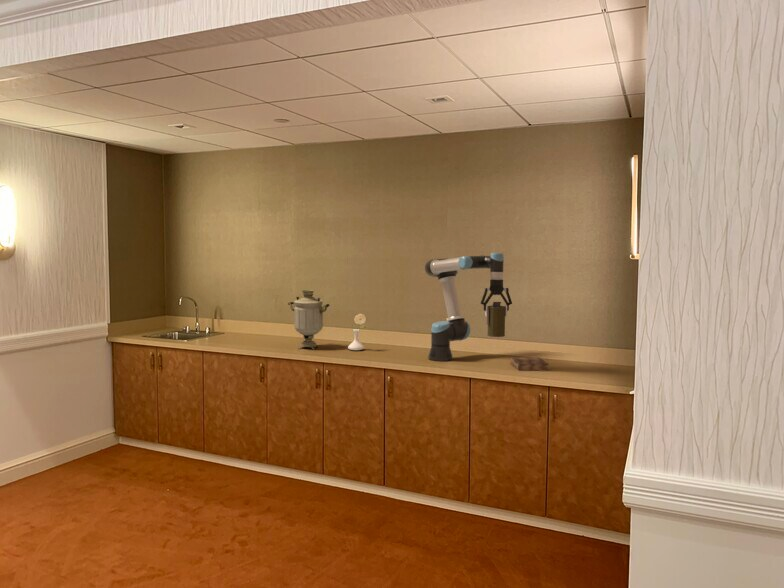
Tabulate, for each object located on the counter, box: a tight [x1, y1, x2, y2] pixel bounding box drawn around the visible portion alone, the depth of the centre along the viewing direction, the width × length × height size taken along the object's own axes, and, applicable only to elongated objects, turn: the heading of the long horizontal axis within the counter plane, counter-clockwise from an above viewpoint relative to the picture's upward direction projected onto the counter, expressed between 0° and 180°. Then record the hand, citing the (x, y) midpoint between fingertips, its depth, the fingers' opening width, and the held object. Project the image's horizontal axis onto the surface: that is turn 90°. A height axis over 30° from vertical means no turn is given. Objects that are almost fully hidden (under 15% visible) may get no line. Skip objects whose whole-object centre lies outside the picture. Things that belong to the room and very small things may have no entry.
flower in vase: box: [347, 313, 367, 351], centre depth 408 cm, size 13×11×25 cm
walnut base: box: [510, 357, 550, 371], centre depth 356 cm, size 18×18×4 cm
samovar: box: [287, 289, 330, 350], centre depth 418 cm, size 30×26×40 cm
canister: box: [486, 301, 506, 338], centre depth 355 cm, size 11×10×20 cm
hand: (496, 316), depth 355 cm, fingers closed on canister, 11 cm apart
